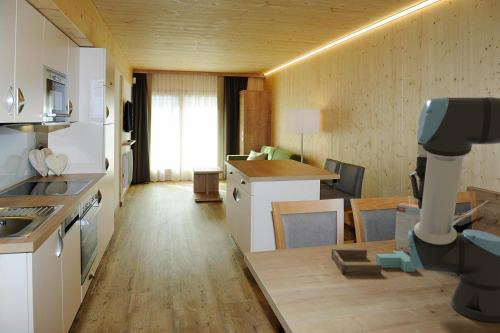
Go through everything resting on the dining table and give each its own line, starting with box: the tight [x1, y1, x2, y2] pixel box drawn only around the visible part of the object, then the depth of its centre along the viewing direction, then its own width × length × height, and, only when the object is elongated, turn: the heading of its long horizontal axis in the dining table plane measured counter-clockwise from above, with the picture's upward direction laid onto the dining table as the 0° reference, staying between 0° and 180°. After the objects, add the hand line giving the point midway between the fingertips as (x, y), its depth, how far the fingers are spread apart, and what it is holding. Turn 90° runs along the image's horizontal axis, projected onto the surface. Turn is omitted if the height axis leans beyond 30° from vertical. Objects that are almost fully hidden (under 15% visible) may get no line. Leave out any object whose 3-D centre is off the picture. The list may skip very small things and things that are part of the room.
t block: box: [375, 250, 416, 273], centre depth 151 cm, size 12×12×4 cm
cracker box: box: [394, 202, 421, 256], centre depth 164 cm, size 14×6×21 cm, turn 36°
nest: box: [331, 248, 382, 276], centre depth 151 cm, size 18×14×4 cm
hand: (423, 217), depth 149 cm, fingers closed
